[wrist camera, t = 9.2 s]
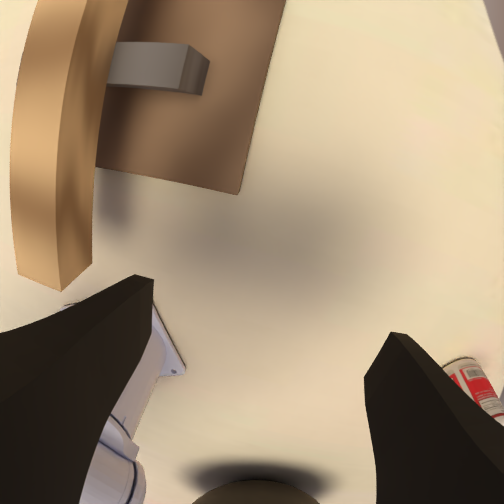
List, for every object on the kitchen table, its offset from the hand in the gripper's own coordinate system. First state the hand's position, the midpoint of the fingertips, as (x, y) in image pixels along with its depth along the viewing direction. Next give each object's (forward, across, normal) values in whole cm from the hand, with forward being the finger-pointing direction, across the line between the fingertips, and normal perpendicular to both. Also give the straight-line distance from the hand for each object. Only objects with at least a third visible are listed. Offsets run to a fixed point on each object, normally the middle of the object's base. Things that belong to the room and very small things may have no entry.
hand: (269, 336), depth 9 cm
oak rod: (+5, +10, -7) cm, 14 cm away
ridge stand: (+10, +10, -7) cm, 16 cm away
